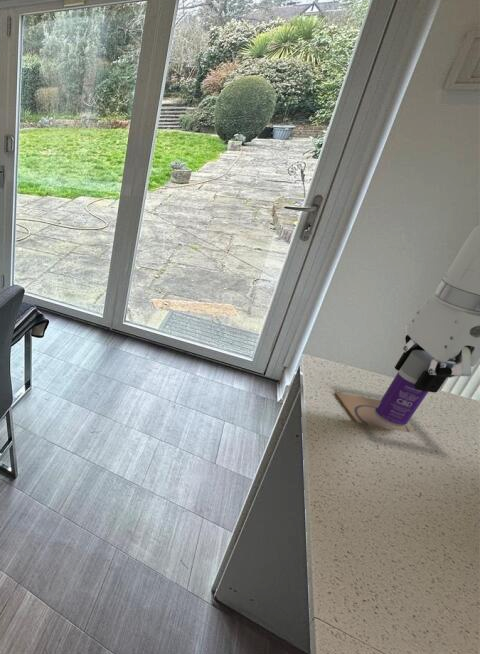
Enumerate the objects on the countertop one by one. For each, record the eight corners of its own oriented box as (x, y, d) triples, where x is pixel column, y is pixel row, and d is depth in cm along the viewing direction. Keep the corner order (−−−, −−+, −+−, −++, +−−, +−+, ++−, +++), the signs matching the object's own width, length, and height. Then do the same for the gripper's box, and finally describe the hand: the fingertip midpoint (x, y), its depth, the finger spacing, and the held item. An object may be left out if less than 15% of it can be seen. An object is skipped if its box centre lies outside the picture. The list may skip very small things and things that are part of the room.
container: (383, 424, 79) (422, 363, 73) (368, 406, 84) (404, 347, 77) (412, 428, 78) (454, 367, 72) (396, 410, 83) (434, 351, 76)
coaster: (388, 403, 89) (389, 401, 88) (434, 456, 77) (435, 454, 76) (334, 393, 91) (335, 391, 91) (371, 443, 79) (372, 441, 79)
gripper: (545, 328, 60) (475, 417, 69) (457, 277, 75) (408, 356, 83) (482, 320, 62) (420, 408, 70) (408, 272, 77) (364, 349, 85)
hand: (414, 379), depth 77 cm, fingers closed on container, 4 cm apart
